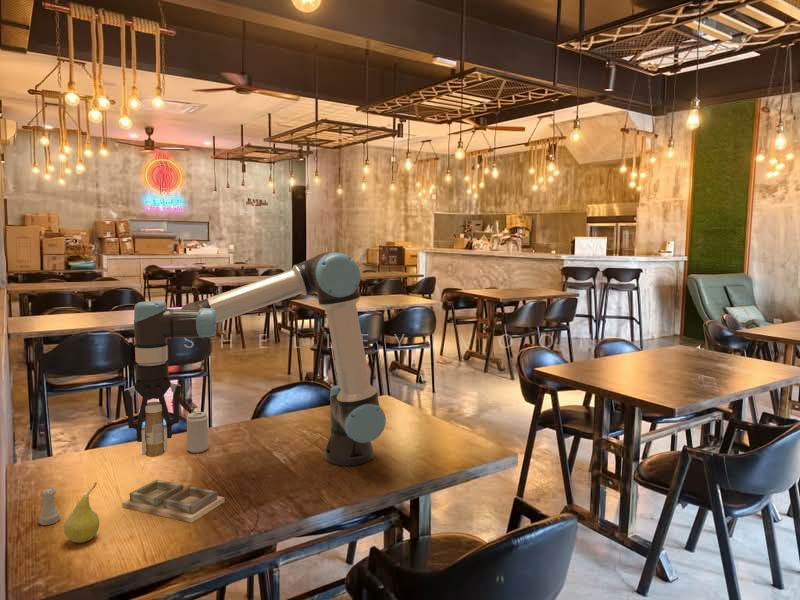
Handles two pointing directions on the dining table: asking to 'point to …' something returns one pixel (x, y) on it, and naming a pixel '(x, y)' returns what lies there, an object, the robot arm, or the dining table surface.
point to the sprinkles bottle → (154, 429)
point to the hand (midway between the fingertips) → (155, 451)
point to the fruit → (82, 521)
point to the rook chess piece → (48, 507)
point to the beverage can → (197, 432)
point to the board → (173, 500)
